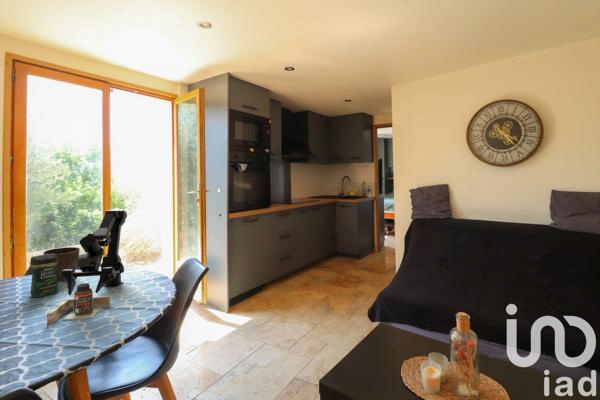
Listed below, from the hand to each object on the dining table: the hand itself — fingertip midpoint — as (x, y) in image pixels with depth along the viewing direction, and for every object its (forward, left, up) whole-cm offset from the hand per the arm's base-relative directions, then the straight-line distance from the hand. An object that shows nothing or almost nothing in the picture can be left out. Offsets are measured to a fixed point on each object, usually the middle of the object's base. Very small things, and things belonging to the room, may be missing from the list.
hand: (83, 293), depth 115 cm
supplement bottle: (0, 0, -8) cm, 8 cm away
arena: (0, 0, -8) cm, 8 cm away
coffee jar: (-12, -35, -8) cm, 38 cm away
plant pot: (-29, -47, -8) cm, 55 cm away
